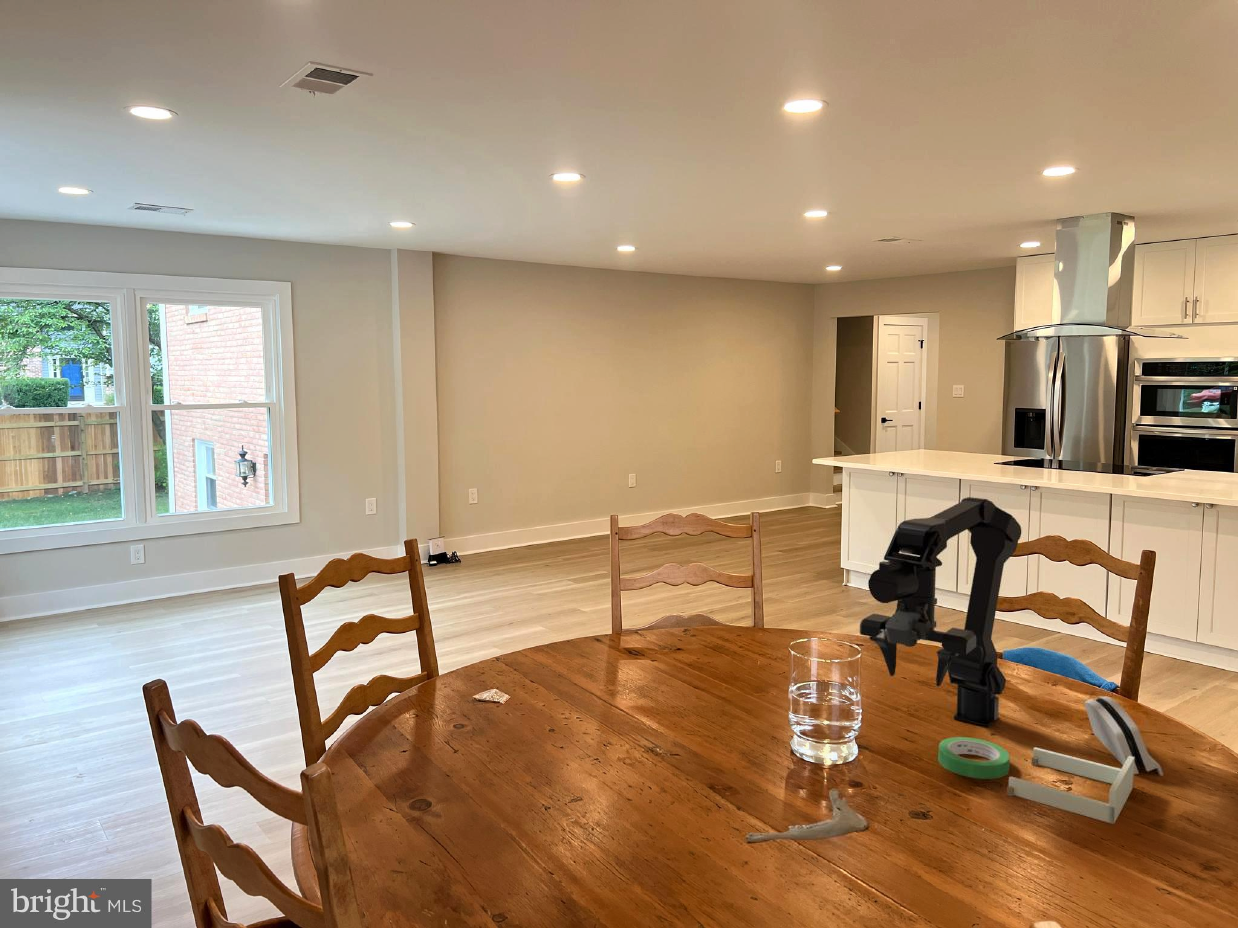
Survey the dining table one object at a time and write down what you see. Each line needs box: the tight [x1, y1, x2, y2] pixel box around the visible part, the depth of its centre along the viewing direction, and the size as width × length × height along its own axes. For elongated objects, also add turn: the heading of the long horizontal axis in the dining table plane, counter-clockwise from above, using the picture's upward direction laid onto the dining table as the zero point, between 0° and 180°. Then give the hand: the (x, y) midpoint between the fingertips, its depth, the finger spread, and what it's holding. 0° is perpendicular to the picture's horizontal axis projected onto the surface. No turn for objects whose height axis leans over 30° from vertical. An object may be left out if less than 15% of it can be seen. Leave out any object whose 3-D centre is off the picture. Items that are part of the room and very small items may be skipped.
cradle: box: [1006, 746, 1135, 825], centre depth 134 cm, size 15×16×5 cm
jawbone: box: [745, 788, 869, 843], centre depth 123 cm, size 9×20×2 cm, turn 128°
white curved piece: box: [1083, 696, 1164, 776], centre depth 147 cm, size 17×5×10 cm, turn 170°
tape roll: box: [937, 736, 1011, 780], centre depth 144 cm, size 11×11×3 cm
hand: (915, 680), depth 150 cm, fingers open, 8 cm apart
